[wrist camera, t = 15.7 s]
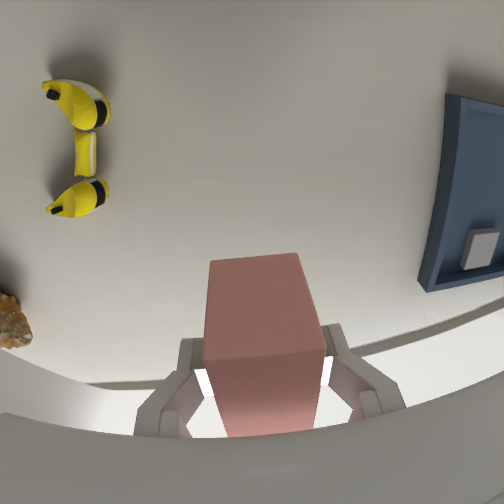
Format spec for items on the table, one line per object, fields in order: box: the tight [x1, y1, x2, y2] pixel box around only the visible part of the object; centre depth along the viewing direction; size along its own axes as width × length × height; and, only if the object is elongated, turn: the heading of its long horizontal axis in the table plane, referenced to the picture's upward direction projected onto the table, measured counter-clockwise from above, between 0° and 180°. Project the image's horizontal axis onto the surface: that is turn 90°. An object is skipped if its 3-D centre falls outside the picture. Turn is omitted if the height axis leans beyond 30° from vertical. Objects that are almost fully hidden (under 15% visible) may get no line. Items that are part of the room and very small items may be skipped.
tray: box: [417, 94, 504, 293], centre depth 22 cm, size 14×18×2 cm
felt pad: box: [459, 227, 500, 270], centre depth 25 cm, size 4×4×1 cm
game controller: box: [42, 79, 111, 218], centre depth 18 cm, size 10×6×4 cm, turn 171°
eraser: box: [202, 253, 327, 437], centre depth 11 cm, size 3×6×5 cm, turn 4°
